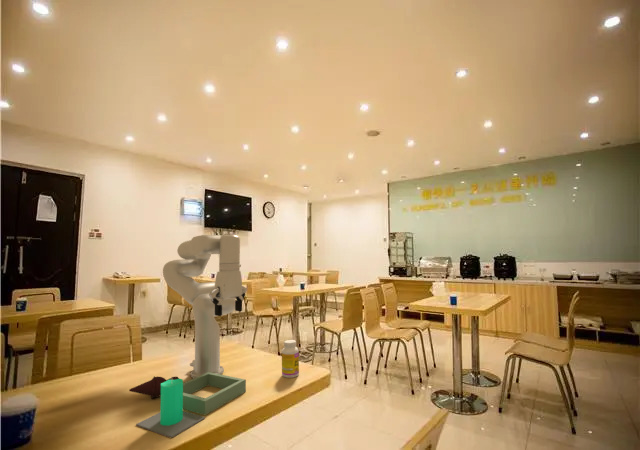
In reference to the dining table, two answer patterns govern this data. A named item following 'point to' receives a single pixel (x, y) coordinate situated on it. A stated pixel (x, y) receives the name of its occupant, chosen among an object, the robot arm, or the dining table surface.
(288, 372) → the supplement bottle
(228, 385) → the box
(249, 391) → the dining table surface
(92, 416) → the dining table surface
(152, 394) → the icecream
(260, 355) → the dining table surface
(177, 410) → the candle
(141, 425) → the rubber mat
